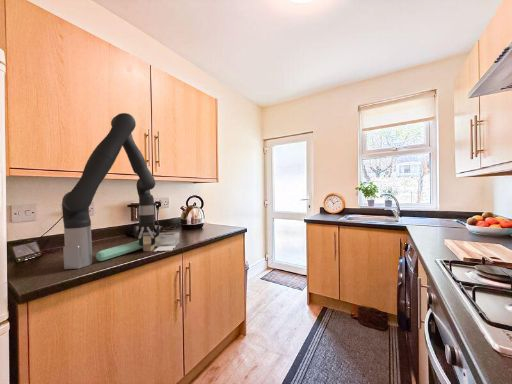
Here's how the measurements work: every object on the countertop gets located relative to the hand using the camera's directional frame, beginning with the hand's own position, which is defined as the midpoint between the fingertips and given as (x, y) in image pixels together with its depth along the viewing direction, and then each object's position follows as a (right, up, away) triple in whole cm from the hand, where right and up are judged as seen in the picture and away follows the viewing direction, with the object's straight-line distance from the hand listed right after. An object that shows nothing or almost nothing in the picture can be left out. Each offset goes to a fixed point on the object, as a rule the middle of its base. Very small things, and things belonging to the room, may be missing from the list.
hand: (147, 245), depth 118 cm
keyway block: (+4, -3, +13) cm, 14 cm away
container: (-10, -3, -6) cm, 12 cm away
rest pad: (+9, -3, +2) cm, 9 cm away
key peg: (0, -3, +1) cm, 3 cm away
